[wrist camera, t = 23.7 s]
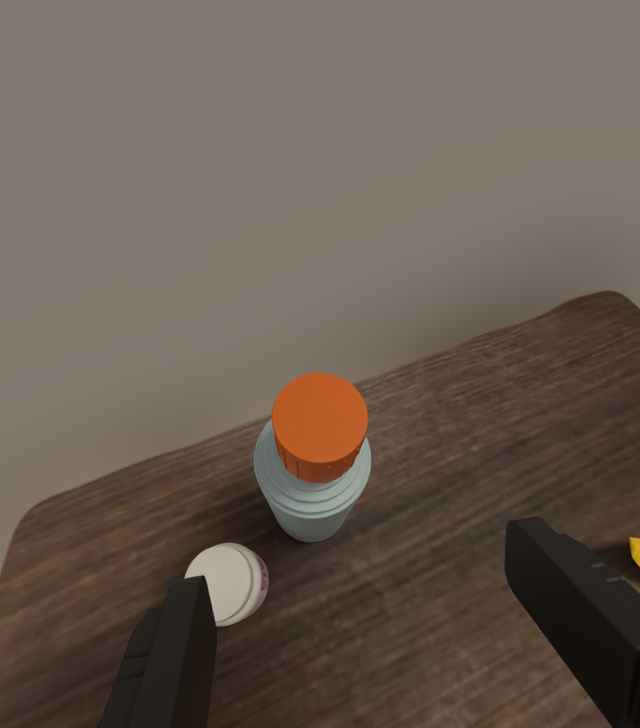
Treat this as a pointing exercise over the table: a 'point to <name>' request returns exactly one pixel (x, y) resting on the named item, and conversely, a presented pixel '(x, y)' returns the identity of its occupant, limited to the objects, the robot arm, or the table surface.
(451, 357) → the table surface
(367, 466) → the water bottle
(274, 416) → the cap
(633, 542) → the banana peel
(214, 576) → the pill bottle
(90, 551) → the table surface
